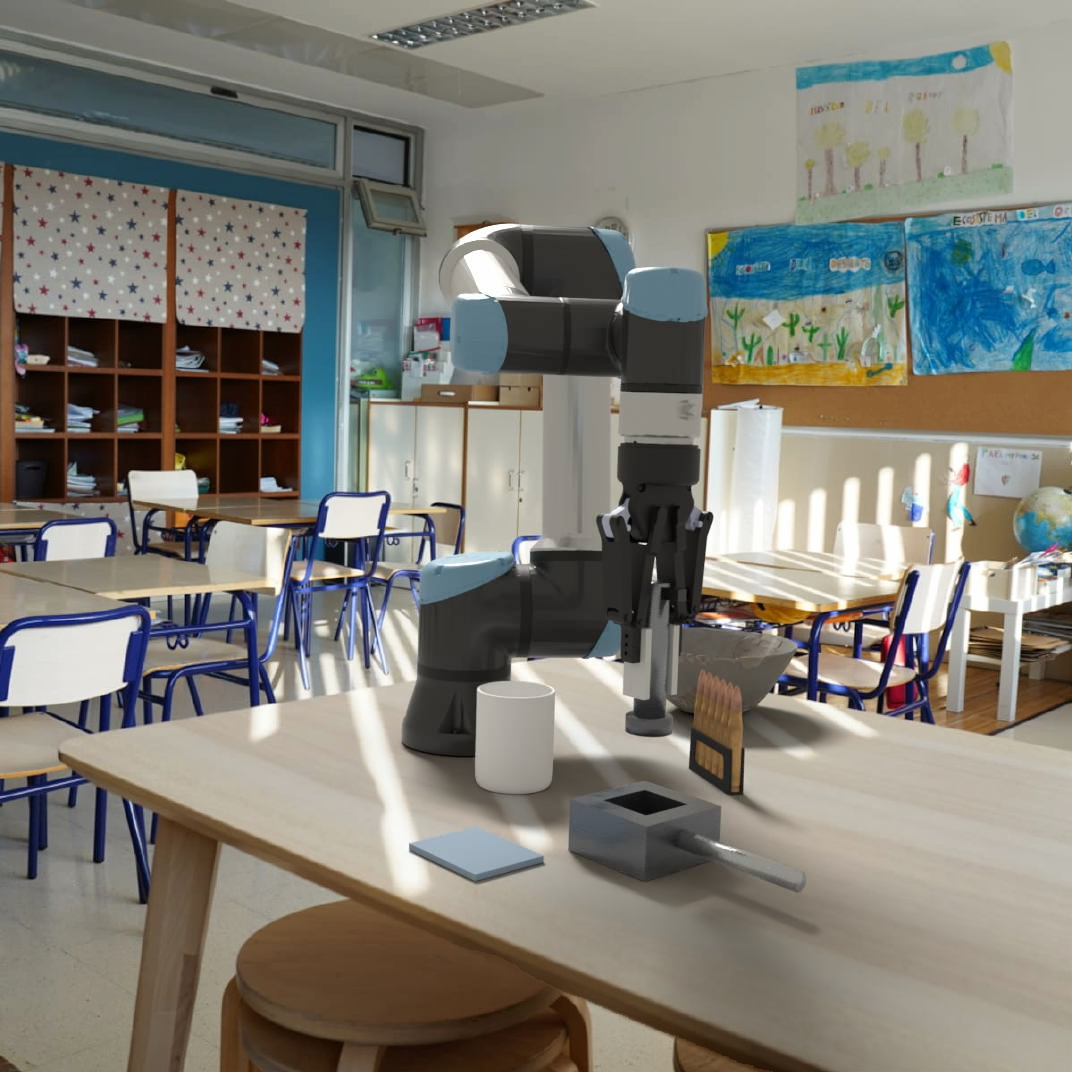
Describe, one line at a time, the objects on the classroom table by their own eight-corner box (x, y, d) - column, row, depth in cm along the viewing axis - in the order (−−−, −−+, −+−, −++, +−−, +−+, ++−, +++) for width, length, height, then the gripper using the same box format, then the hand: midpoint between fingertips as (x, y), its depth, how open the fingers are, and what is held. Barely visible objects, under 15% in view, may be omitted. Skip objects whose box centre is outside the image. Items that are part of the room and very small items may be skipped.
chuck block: (568, 850, 121) (569, 798, 120) (642, 829, 127) (644, 780, 127) (759, 929, 104) (762, 869, 103) (833, 900, 110) (837, 844, 110)
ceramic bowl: (796, 699, 188) (799, 632, 187) (790, 737, 166) (794, 661, 165) (646, 687, 193) (649, 622, 192) (621, 723, 171) (624, 649, 170)
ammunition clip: (744, 794, 140) (748, 687, 139) (728, 795, 140) (733, 687, 139) (702, 767, 150) (707, 667, 149) (688, 768, 150) (692, 667, 149)
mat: (408, 849, 120) (409, 843, 120) (476, 832, 125) (476, 826, 125) (475, 881, 112) (475, 874, 112) (543, 861, 118) (543, 855, 117)
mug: (521, 762, 150) (524, 672, 149) (565, 791, 139) (568, 695, 138) (453, 768, 147) (455, 677, 146) (491, 799, 136) (494, 700, 135)
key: (605, 726, 120) (610, 579, 119) (638, 720, 123) (643, 576, 122) (659, 742, 115) (665, 588, 114) (692, 735, 118) (699, 585, 117)
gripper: (626, 441, 108) (616, 713, 111) (748, 443, 119) (737, 691, 121) (566, 438, 114) (558, 697, 116) (688, 440, 125) (678, 677, 127)
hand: (649, 693), depth 119 cm, fingers closed on key, 3 cm apart
